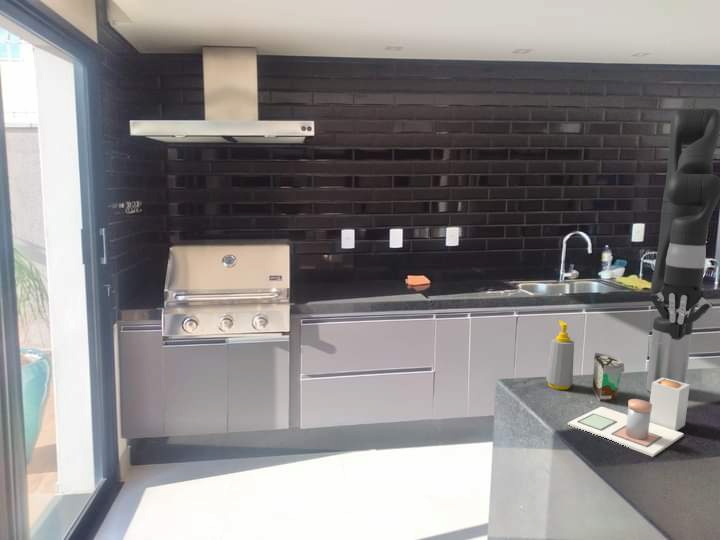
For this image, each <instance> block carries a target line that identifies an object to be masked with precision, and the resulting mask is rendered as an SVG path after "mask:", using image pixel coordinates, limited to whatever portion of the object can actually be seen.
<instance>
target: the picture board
mask: <svg viewBox="0 0 720 540" xmlns="http://www.w3.org/2000/svg"><path fill="white" fill-rule="evenodd" d="M627 416H628V414H626V413H622V412H620V411H616V410H614V409H611V408H607V407H604V406H599V407H598V408H595V409H593V410H591V411H588V412H587V413H584V414H583V415H580V416H579V417H576V418H574V419H573V420H570V421H569V422H567V426H569V425H570V426H569V427H571V426H572V427H571V428H574V427H575V428H574V429H577V428H578V429H577V430H579V429H581V430H580V431H582V430H584V431H583V432H585V431H587V432H590V433H592V434H591V435H593V434H595V435H594V436H596V435H598V436H601V437H604V438H607V439H609V440H612V441H614V442H617V443H619V444H618V445H620V444H621V445H620V446H622V445H624V446H623V447H625V446H626V447H625V448H628V447H629V448H628V449H631V450H634V451H636V452H638V453H642V454H644V455H647V456H650V457H652V458H653V457H655V456H656V455H658V454H659V453H661V452H662V451H663V450H665V449H666V448H668V447H669V446H671V445H673V443H675V442H677V441H678V440H680V439H681V438H683V437H684V433H683V432H681V431H678V430H677V431H675V430H672V429H669V428H666V427H663V426H660V425H657V424H653V423H649V432H648V439H646V440H637V439H633V438H630V437H628V436H627V435H626V425H627ZM587 432H586V433H587ZM590 433H589V434H590ZM598 436H597V437H598ZM601 437H600V438H601ZM604 438H603V439H604ZM609 440H608V441H609ZM612 441H611V442H612ZM614 442H613V443H614ZM617 443H616V444H617Z"/></svg>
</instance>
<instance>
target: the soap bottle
mask: <svg viewBox="0 0 720 540" xmlns="http://www.w3.org/2000/svg"><path fill="white" fill-rule="evenodd" d="M558 323H559V325H560V327H561V331H560V332H559V333H558V335H557V336H556V337H555V338H552V339H551V343H550V349H549V350H550V351H549V358H548V364H547V373H546V379H545V380H546V381H547V384H548V386H549V387H550V388H551V389H555V390H562V391H563V390H564V391H566V390H569V389H570V388H571V386H572V385H573V383H574V380H573V379H574V356H575V355H574V353H575V341H574V340H572V339H571V338H570V337H569V333H567V332H566V331H567V329H568V326H569V324H568V323H566V322H564V320H558Z"/></svg>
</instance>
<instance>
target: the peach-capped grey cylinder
mask: <svg viewBox="0 0 720 540" xmlns="http://www.w3.org/2000/svg"><path fill="white" fill-rule="evenodd" d="M627 404H628V405H627V408H628V409H627V415H628V416H627V425H626V435H627V436H628V437H630V438H633V439H637V440H646V439H648V432H649V423H650V414H651V410H652V404H651V403H650V401H647V400H643V399H639V398H631V399H628V403H627Z"/></svg>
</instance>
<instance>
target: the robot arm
mask: <svg viewBox="0 0 720 540" xmlns="http://www.w3.org/2000/svg"><path fill="white" fill-rule="evenodd" d="M719 137H720V111H719V110H718V109H716V108H712V107H711V108H710V107H707V108H706V107H703V108H702V107H700V108H699V107H698V108H697V107H696V108H678V109H676V110H675V111H674V112H673V114H672V115H671V120H670V127H669V138H668V139H669V140H668V154H667V155H668V157H667V170H666V179H665V185H664V189H663V190H664V191H663V198H662V203H661V204H662V205H661V212H660V225H659V237H658V245H657V251H656V255H655V256H656V258H655V262H654V268H653V273H652V278H651V284H650V300H651V302H652V303H653V305H654V306H655V308H656V310H657V311H658V313H659V315H660V316H657V317H655V318H654V319H653V322H652V331H651V333H652V334H651V339H650V340H651V341H650V351H649V360H648V367H647V368H648V369H647V374H646V375H647V377H646V385H645V386H646V387H645V389H646V390H647V392H650V393H651V387H652V382H654V381H656V380H658V379H660V378H662V377H663V378H667V379H671V380H675V381H678V382H682V383H686V384H687V376H688V375H687V374H688V367H689V359H690V352H691V351H690V350H691V343H692V335H693V327H694V323H695V322H696V321H697V320H699V319H700V318H702V316H703V315H705V314H706V313H708V311H710V310H711V309H712V308H713V307H714V304H713V303H712V302H708V301H707V300H706V299H705V298H704V293H703V290H702V289H703V283H704V282H703V281H704V273H705V266H706V258H707V257H706V256H707V254H706V253H707V252H706V250H707V249H706V246H707V241H708V240H707V239H708V238H707V237H708V231H709V225H710V221H711V218H712V216H713V212H714V210H715V208H716V206H717V204H718V202H719V200H720V176H718V175H717V174H713V172H714V171H713V170H714V154H715V153H716V152H715V151H716V149H717V146H718V142H719ZM683 146H687V147H686V148H685V149H684V150H683ZM697 304H698V305H697ZM696 306H697V310H696ZM695 310H696V311H695Z"/></svg>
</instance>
